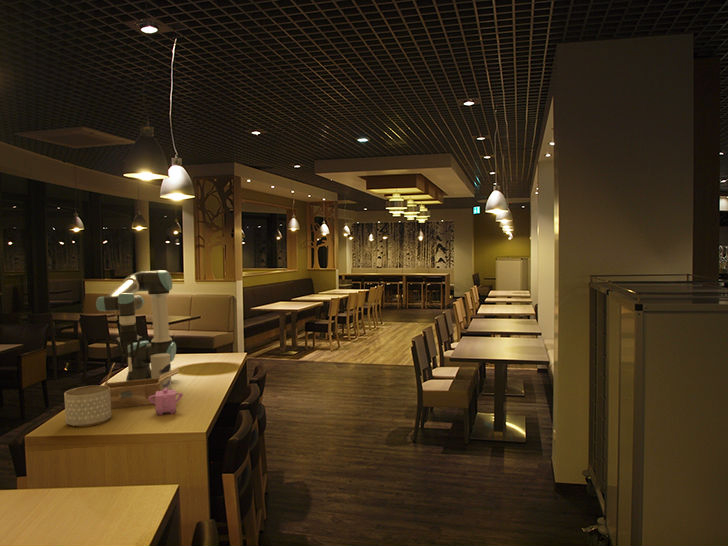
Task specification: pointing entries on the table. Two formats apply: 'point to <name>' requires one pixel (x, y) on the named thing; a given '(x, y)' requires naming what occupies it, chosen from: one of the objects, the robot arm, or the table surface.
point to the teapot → (165, 401)
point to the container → (161, 369)
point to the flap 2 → (169, 374)
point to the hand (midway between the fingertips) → (130, 370)
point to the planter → (87, 405)
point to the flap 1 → (109, 374)
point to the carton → (133, 392)
